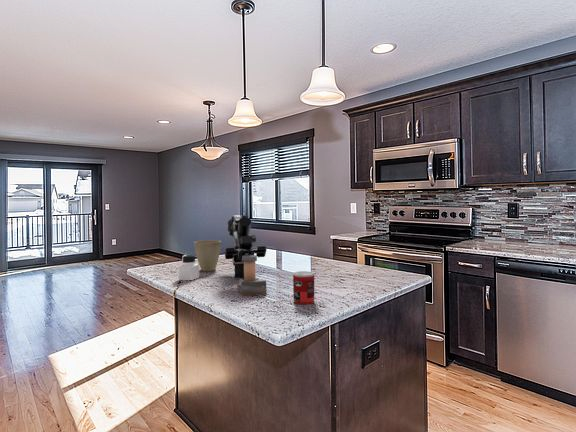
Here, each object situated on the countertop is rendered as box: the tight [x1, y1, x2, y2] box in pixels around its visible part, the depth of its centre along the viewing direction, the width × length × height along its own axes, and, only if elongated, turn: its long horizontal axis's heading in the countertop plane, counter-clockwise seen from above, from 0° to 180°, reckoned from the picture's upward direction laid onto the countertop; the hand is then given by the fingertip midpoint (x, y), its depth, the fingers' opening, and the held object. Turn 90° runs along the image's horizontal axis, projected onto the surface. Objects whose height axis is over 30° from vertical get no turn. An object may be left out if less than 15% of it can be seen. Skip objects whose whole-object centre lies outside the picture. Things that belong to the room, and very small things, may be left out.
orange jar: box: [242, 254, 258, 281], centre depth 156 cm, size 6×6×13 cm
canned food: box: [292, 270, 315, 305], centre depth 136 cm, size 8×8×11 cm
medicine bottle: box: [178, 254, 200, 281], centre depth 177 cm, size 7×7×12 cm
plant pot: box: [193, 239, 222, 272], centre depth 199 cm, size 15×15×16 cm
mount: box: [237, 277, 267, 297], centre depth 153 cm, size 14×10×6 cm
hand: (248, 267), depth 160 cm, fingers closed
